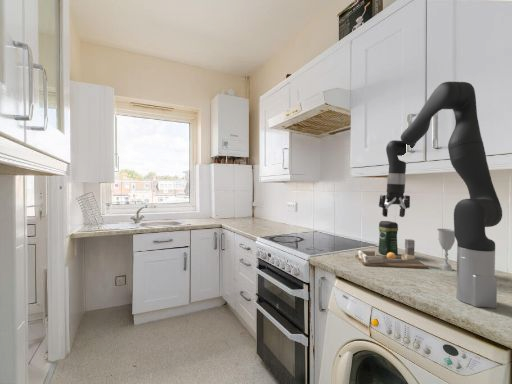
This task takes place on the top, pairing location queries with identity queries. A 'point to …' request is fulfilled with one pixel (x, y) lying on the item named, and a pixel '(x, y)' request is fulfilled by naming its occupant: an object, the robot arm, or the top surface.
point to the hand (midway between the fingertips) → (393, 216)
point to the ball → (391, 255)
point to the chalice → (446, 245)
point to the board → (387, 261)
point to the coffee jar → (388, 237)
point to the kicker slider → (409, 250)
